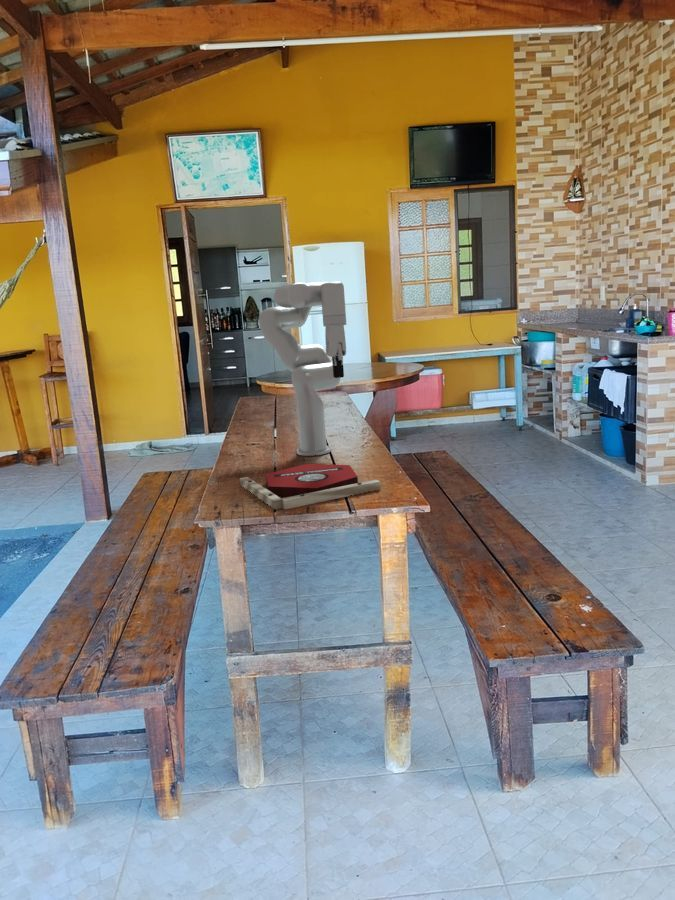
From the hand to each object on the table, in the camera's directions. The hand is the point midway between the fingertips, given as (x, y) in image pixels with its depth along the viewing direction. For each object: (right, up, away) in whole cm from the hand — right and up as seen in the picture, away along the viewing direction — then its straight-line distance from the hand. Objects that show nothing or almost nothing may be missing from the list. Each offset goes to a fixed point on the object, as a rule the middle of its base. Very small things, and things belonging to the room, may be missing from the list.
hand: (338, 377), depth 241 cm
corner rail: (-9, -35, -20) cm, 42 cm away
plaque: (-8, -35, -17) cm, 40 cm away
